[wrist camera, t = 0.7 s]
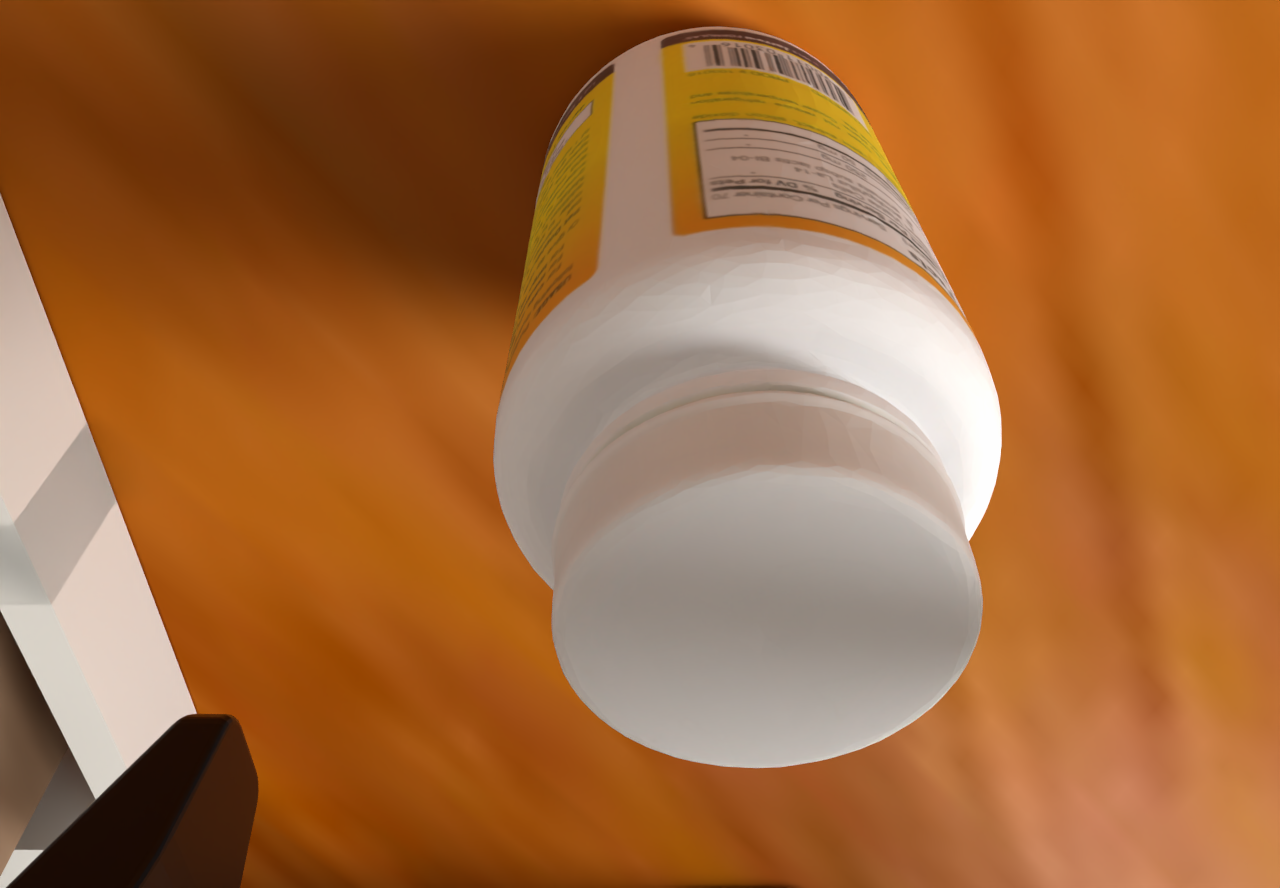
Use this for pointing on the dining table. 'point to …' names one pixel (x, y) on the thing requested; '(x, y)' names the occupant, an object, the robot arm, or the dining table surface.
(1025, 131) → the dining table surface
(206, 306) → the dining table surface
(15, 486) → the grey divided tray
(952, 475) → the supplement bottle
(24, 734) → the walnut block
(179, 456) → the dining table surface
